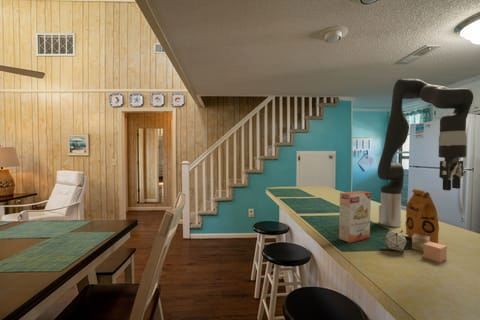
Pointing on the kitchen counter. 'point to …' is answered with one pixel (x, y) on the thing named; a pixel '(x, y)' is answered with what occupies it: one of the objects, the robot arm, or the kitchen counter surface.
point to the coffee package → (422, 216)
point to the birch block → (419, 241)
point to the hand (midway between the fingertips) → (451, 189)
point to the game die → (395, 240)
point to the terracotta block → (435, 251)
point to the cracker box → (354, 216)
